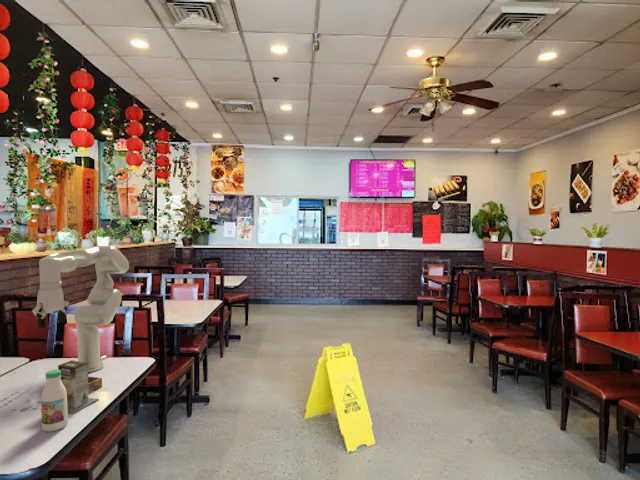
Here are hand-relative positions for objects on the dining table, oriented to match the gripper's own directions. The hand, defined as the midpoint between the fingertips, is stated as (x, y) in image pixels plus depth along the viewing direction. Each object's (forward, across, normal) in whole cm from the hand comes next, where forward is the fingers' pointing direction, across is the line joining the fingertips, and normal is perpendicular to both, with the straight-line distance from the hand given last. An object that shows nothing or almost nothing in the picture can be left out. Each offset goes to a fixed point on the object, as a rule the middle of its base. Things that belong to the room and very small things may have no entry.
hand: (52, 324), depth 179 cm
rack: (+28, -1, +13) cm, 31 cm away
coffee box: (+28, +12, +23) cm, 38 cm away
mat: (+28, +12, +23) cm, 38 cm away
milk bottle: (+28, +28, +30) cm, 50 cm away
